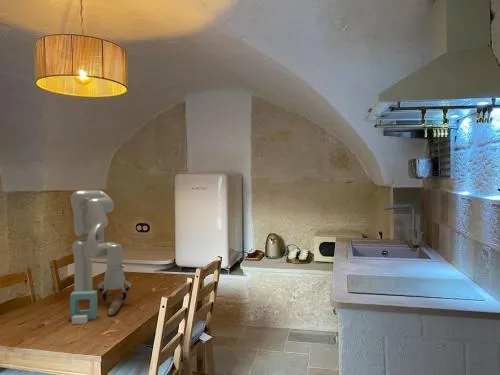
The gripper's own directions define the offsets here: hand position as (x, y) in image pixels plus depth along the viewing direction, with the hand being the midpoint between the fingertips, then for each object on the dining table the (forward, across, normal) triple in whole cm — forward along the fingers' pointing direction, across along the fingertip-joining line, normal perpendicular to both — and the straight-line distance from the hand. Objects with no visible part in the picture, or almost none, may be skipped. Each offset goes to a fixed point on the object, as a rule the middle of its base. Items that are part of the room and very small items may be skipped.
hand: (114, 300), depth 211 cm
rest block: (+2, +10, +27) cm, 29 cm away
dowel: (+2, 0, +9) cm, 9 cm away
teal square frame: (+2, +10, +20) cm, 22 cm away
